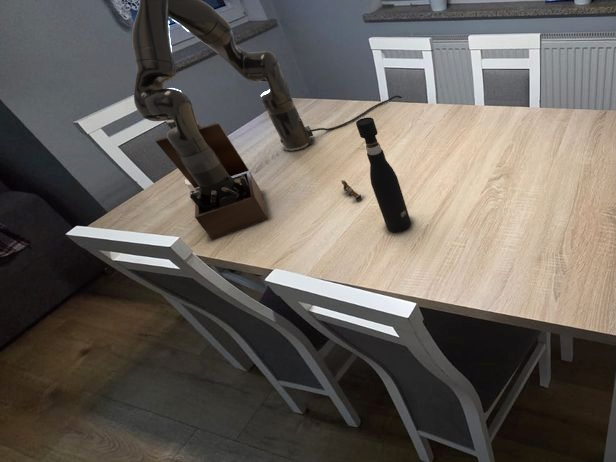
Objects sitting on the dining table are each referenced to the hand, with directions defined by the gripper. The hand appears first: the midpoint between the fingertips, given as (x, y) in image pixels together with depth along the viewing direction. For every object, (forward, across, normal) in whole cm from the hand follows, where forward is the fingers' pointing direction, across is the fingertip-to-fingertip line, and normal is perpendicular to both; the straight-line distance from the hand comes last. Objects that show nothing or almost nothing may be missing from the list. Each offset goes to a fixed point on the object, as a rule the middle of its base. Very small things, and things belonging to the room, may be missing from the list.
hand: (236, 214), depth 116 cm
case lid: (-15, 0, +8) cm, 17 cm away
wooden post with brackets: (+2, +31, -11) cm, 33 cm away
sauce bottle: (+2, -8, +37) cm, 38 cm away
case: (+1, 0, +2) cm, 2 cm away
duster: (0, 0, 0) cm, 0 cm away
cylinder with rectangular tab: (+2, -7, +22) cm, 23 cm away
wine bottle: (+2, +38, -33) cm, 50 cm away
